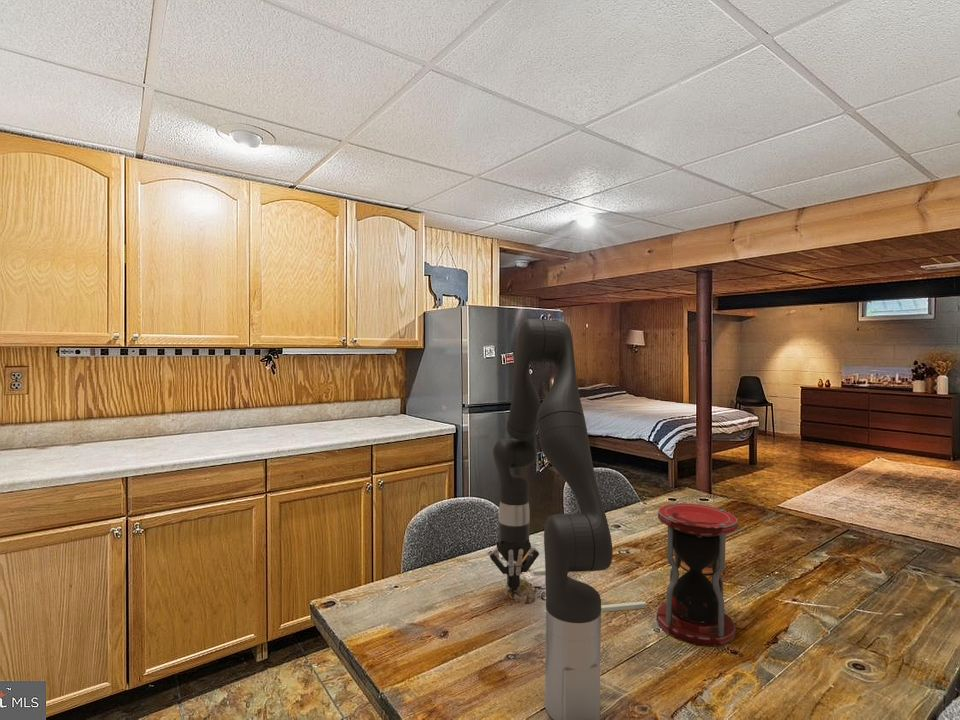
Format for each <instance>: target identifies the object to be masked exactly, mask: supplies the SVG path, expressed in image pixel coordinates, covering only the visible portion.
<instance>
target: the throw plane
mask: <svg viewBox="0 0 960 720" xmlns="http://www.w3.org/2000/svg"><path fill="white" fill-rule="evenodd" d="M527 555H528V553H527V554H526V556H525V557H524V558H523V559H522V562H523V561H524V559H525V558H526V557H527ZM608 570H609V568H607V569H605V570H604V571H608ZM527 572H528V574H529V575H528V574H526V573H525V574H526V575H528V576H530V575H531V573H530V568H529V569H528V571H527ZM584 572H585V571H580V572H579V573H584ZM523 573H524V572H523ZM568 574H571V573H570V572H568ZM532 575H534V576H543V575H544V576H545V568H540V569H533V571H532ZM532 575H531V576H530V578H529V577H528V576H526V577H527V578H528V579H527V578H526V579H525V580H534V578H533V576H532ZM531 578H532V579H531ZM646 606H647V605H646V602H644V601H633V602H631V601H630V602H624V603H623V602H621V603H613V604H611V603H609V604H601V613H607V612H609V613H610V612H616V611H618V612H619V611H627V610H628V611H629V610H640V609H646ZM543 611H544V613H545V614H546V609H544V610H543Z"/></svg>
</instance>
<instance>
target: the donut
mask: <svg viewBox="0 0 960 720" xmlns="http://www.w3.org/2000/svg"><path fill="white" fill-rule="evenodd" d="M680 567H682V568H683V569H684V570H686V571H687V572H688V571H689V570H690V568H689V567H688V565H687V564H686V563H685V562H684V561H683V560H682V559H681V565H680ZM702 573H703V574H704V575H709V574H713V570H712V563H711V564H710V565H708V566H707V567H705V568H704V569H702Z"/></svg>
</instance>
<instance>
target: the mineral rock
mask: <svg viewBox="0 0 960 720" xmlns="http://www.w3.org/2000/svg"><path fill="white" fill-rule="evenodd" d="M537 592H538V591H537V590H536V588H535V587H534V586H533V585H532V583H531V582H528V581H527V579H525V578H520V585H519V587H517V590H511V589H510V588H509V587H508V585H506V588H504V592H503V594H505V593H506V594H507V595H506V594H505V595H506V596H508V597H509V596H511V597H512V598H513V599H512V600H514V599H515V600H517V601H519V602H518V603H521V602H522V604H523V603H525V604H529V605H531V604H532V603H534V602H535V597H534V595H535V593H537ZM511 597H510V598H511ZM515 600H514V601H515ZM517 601H516V602H517Z"/></svg>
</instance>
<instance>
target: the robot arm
mask: <svg viewBox="0 0 960 720" xmlns="http://www.w3.org/2000/svg"><path fill="white" fill-rule="evenodd" d="M575 359H576V358H575V350H574V341H573V335H572V331H571V328H570V326H569V325H568V323H566V322H565V321H561V320H552V319H538V318H526V319H525V320H524V321H523V322H522V323H521V325H520V327H519V330H518V333H517V339H516V350H515V362H514V371H513V386H512V387H513V389H512V397H511V398H512V399H511V403H510V407H509V408H510V409H509V412H508V417H507V421H506V432H507V434H508V435H509V437H510V438H504V439H503V438H502V439H499V440H497V441H496V442H495V444H494V446H493V449H492V454H493V455H492V456H493V459H494V463H495V466H496V470H497V474H498V480H499V487H500V488H499V492H500V495H499V496H500V497H499V499H500V500H499V507H498V518H497V519H498V541H497V544H496V548H494V549H493V550H490V551H488V553H487V555H488V556H489V558H490V560H491V561H492V562H493V563H494V564H495V566H496V567H497V568H498V569H499V571H500V572H501V573H502V575H506V584H507V585H508V587H509V588H510V589H511V590H517V587H519V585H520V579H521V577H520V576H521V574H522V572H527V571H528V569H529V570H530V568H531V566H532V565H533V564H534V562H535V561H536V560H537V558H538V557H539V556H540V552H539V551H538V549H537V548H536V547H533V546H532V543H531V542H530V515H531V514H530V504H529V503H530V502H529V497H530V491H529V490H530V485H529V480H528V479H527V478H526V477H525V476H522V475H515V474H512V472H511V469H514V468H515V469H517V468H529V467H531V466H533V464H534V463H535V461H536V460H537V457H538V454H537V453H538V452H537V443H536V435H537V434H538V440H539V446H540V450H541V451H542V453H543V455H544V457H545V458H546V459H547V461H548V462H549V464H550V465H551V466H552V467H553V468H554V470H555V471H556V472H557V473H558V474H559V475H560V477H561V478H562V479H563V480H564V481H565V482H566V484H567V485H568V486H569V488H570V489H571V491H572V493H573V495H574V497H575V499H576V502H577V504H578V507H579V511H580V513H560V514H559V513H558V514H551V515H549V516H548V517H547V519H546V521H545V524H544V531H543V547H544V565H545V566H544V567H545V568H544V569H545V575H544V578H545V579H544V580H545V610H546V613H545V646H544V647H545V650H544V651H545V652H544V653H545V661H544V665H545V667H544V669H545V670H544V671H545V672H544V673H545V675H544V688H545V689H544V707H545V711H546V713H547V714H548V715H549V718H551V719H552V720H601V644H602V643H601V641H602V640H601V639H602V638H601V637H602V636H601V635H602V632H601V631H602V612H601V605H602V597H601V595H600V593H599V592H598V590H597V589H595V588H594V587H593V586H591V585H590V584H587V583H585V582H583V581H580V580H577V579H574V578H572V577H570V576H568V574H569V573H568V572H572V573H581V572H580V571H584V572H596V571H606V570H605V569H607V568H608V569H609V568H610V566H611V564H612V563H613V557H614V556H613V555H614V554H613V553H614V552H613V542H612V536H611V530H610V526H609V523H608V518H607V515H606V511H605V506H604V503H603V500H602V496H601V494H600V493H601V492H600V489H599V486H598V482H597V478H596V473H595V469H594V465H593V459H592V458H593V457H592V453H591V445H590V440H589V433H588V428H587V423H586V419H585V414H584V410H583V405H582V402H581V396H580V391H579V385H578V379H577V371H576V370H577V369H576V362H575V361H576V360H575ZM532 363H544V364H552V365H554V369H555V375H554V376H555V377H554V379H553V382H552V384H551V387H550V388H549V390H548V392H547V394H546V395H545V397H544V398H543V400H542V402H541V400H540V396H539V394H538V392H537V389H536V387H535V385H534V382H533V380H532V377H531V372H530V368H531V364H532ZM537 431H538V433H537V434H536V432H537ZM527 553H528V555H527V557H526V558H525V559H524V561H523V562H522V559H523V558H524V557H525V556H526V554H527ZM500 555H501V556H502V557H503V560H504V561H505V564H506V566H505V565H504V564H503V562H502V561H501V560H500ZM507 585H506V586H507Z"/></svg>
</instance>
